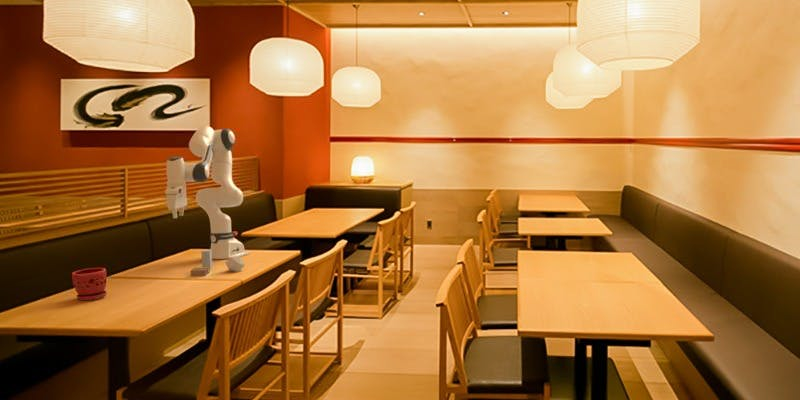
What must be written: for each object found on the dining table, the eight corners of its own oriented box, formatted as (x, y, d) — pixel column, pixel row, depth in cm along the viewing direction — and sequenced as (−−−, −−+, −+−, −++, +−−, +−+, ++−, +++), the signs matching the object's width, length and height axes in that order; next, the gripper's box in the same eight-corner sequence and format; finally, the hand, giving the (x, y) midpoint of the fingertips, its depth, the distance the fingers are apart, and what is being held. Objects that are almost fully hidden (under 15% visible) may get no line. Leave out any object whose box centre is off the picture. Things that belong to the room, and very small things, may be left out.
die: (248, 271, 333) (242, 255, 337) (242, 266, 326) (237, 249, 329) (232, 278, 333) (227, 261, 337) (227, 273, 325) (221, 255, 329)
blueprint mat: (205, 271, 333) (204, 270, 333) (222, 273, 326) (222, 273, 326) (181, 276, 321) (181, 275, 321) (198, 279, 314) (198, 278, 314)
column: (204, 269, 339) (203, 250, 338) (212, 269, 339) (211, 249, 338) (202, 271, 335) (201, 251, 334) (210, 270, 335) (209, 251, 334)
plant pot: (98, 293, 290) (96, 266, 289) (113, 297, 282) (111, 269, 281) (68, 299, 280) (66, 271, 279) (82, 303, 272) (80, 274, 270)
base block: (195, 273, 326) (194, 267, 326) (209, 273, 327) (209, 267, 326) (191, 276, 320) (190, 270, 319) (205, 276, 320) (205, 269, 319)
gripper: (177, 188, 343) (178, 214, 344) (163, 191, 323) (165, 219, 324) (189, 187, 343) (190, 214, 344) (176, 190, 323) (178, 219, 324)
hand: (178, 216), depth 334 cm, fingers open, 8 cm apart
